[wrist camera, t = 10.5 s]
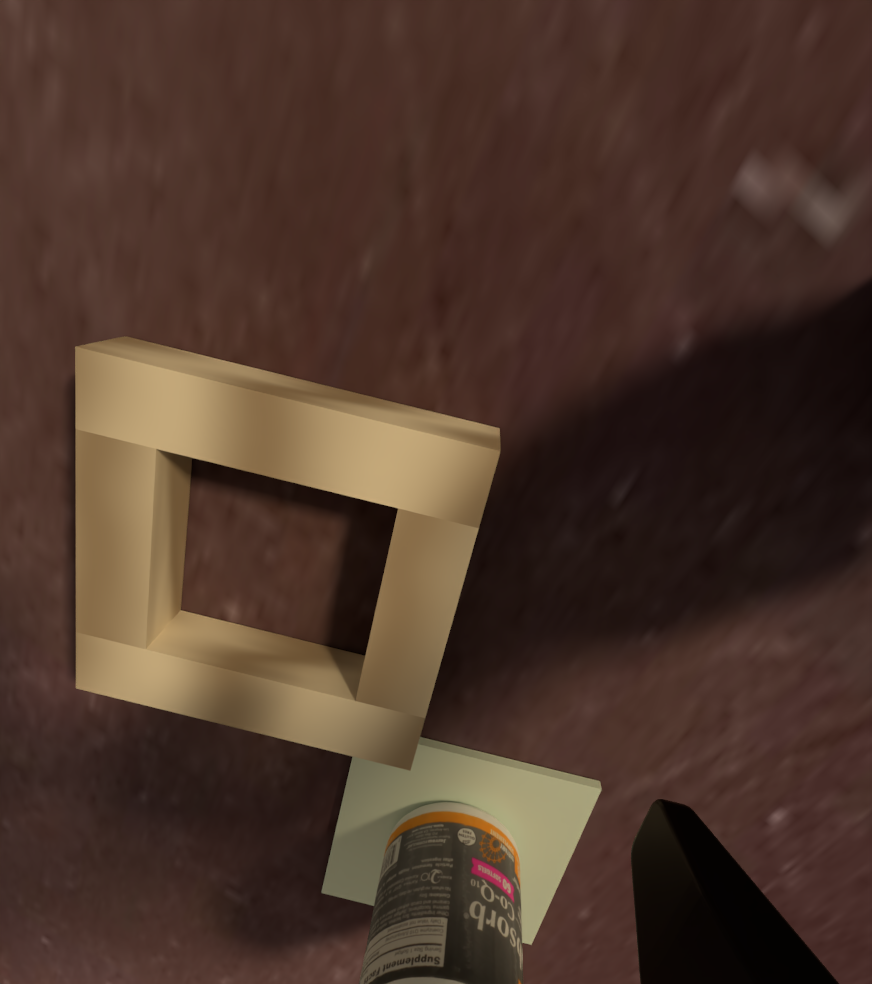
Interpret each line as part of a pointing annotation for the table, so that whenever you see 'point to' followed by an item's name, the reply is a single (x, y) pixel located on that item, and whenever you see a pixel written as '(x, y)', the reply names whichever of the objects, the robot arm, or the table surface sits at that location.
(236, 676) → the pocket holder
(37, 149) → the table surface
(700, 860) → the robot arm
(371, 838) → the mat
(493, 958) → the pill bottle
